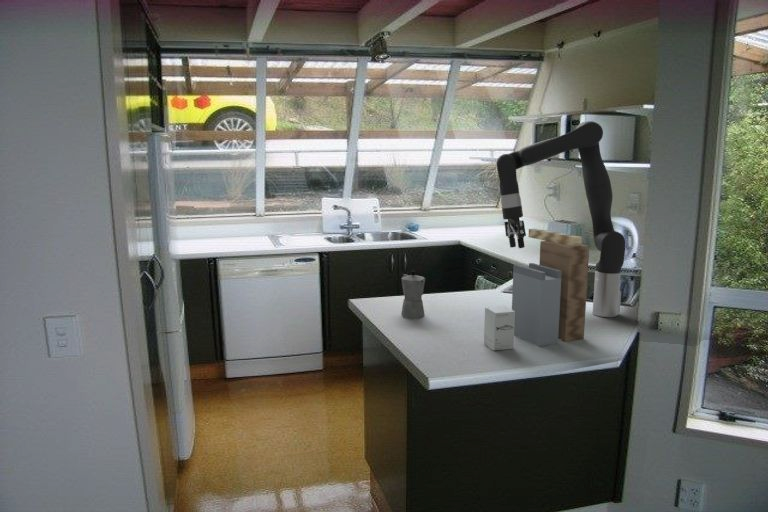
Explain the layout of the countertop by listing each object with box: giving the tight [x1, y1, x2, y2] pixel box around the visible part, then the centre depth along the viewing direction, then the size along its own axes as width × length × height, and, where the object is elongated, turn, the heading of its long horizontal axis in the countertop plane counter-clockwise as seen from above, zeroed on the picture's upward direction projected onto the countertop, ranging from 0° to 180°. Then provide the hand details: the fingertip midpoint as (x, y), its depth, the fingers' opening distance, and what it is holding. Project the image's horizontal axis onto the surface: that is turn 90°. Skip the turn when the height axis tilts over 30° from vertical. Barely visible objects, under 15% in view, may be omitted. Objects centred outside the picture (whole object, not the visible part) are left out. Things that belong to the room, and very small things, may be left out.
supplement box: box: [483, 305, 515, 351], centre depth 180 cm, size 7×7×13 cm
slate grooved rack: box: [511, 262, 562, 347], centre depth 187 cm, size 8×15×24 cm, turn 23°
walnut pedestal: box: [538, 240, 590, 343], centre depth 190 cm, size 8×15×32 cm, turn 23°
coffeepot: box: [399, 269, 426, 320], centre depth 216 cm, size 15×9×18 cm, turn 33°
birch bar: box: [527, 228, 583, 246], centre depth 192 cm, size 24×3×3 cm, turn 23°
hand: (517, 247), depth 214 cm, fingers open, 8 cm apart
